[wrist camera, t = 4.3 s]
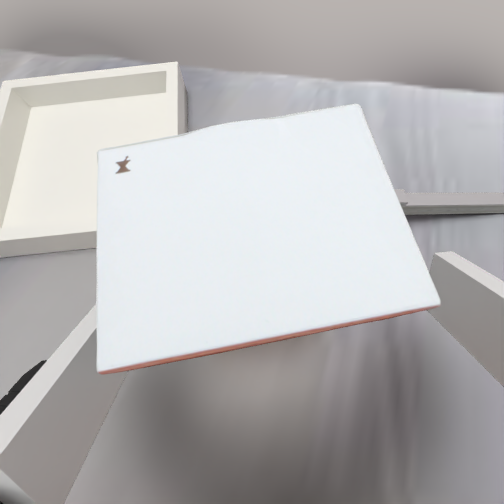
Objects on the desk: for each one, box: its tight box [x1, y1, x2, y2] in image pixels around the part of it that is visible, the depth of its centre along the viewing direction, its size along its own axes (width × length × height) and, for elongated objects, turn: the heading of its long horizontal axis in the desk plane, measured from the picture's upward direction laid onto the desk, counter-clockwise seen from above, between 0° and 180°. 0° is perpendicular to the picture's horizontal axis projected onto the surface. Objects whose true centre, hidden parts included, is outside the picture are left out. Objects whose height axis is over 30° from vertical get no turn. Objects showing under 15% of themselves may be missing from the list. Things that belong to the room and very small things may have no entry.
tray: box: [0, 62, 188, 258], centre depth 21 cm, size 16×16×3 cm
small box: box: [96, 104, 441, 375], centre depth 12 cm, size 8×6×13 cm
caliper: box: [394, 189, 504, 215], centre depth 17 cm, size 20×1×6 cm, turn 95°
